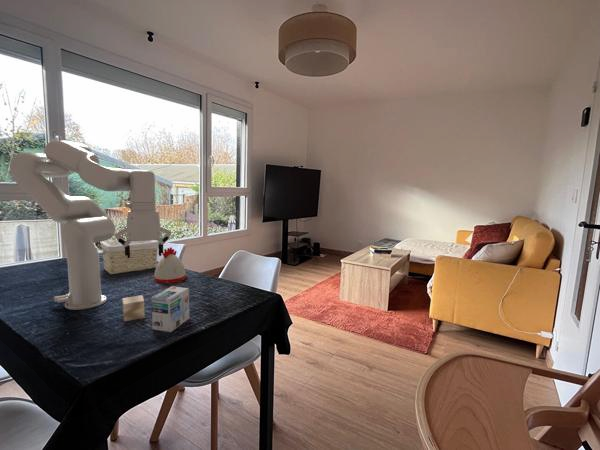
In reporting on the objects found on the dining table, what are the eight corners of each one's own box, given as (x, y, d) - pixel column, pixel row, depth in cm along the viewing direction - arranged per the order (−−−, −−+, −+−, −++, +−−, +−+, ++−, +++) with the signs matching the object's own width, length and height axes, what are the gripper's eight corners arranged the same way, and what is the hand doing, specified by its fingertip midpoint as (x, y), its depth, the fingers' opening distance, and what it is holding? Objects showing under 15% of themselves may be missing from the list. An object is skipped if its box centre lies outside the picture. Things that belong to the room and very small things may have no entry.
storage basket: (150, 262, 171) (149, 236, 169) (160, 268, 160) (159, 241, 158) (101, 269, 155) (99, 241, 153) (108, 276, 143) (106, 246, 141)
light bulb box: (170, 332, 92) (170, 299, 90) (151, 330, 93) (150, 296, 92) (190, 318, 102) (189, 287, 101) (172, 315, 103) (171, 285, 102)
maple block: (124, 321, 98) (123, 304, 97) (123, 314, 103) (122, 298, 102) (144, 317, 101) (144, 300, 101) (142, 311, 106) (142, 295, 106)
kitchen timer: (147, 280, 140) (146, 248, 138) (169, 272, 152) (169, 243, 150) (170, 284, 135) (170, 252, 133) (192, 276, 147) (191, 246, 146)
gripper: (112, 208, 94) (114, 261, 97) (172, 207, 103) (172, 256, 105) (113, 206, 101) (116, 256, 103) (169, 206, 109) (170, 252, 112)
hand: (144, 256), depth 104 cm, fingers open, 9 cm apart
